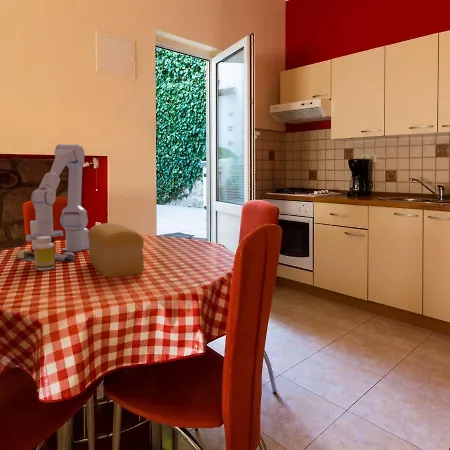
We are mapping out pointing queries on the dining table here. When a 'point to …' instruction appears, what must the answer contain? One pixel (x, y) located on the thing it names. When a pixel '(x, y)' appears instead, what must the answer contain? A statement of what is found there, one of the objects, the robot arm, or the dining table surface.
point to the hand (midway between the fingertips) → (46, 257)
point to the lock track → (27, 259)
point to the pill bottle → (44, 253)
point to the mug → (33, 232)
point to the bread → (115, 250)
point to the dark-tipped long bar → (69, 257)
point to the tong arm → (56, 256)
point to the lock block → (24, 253)
